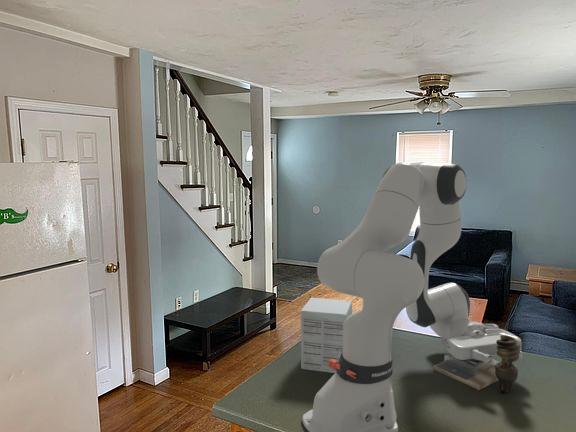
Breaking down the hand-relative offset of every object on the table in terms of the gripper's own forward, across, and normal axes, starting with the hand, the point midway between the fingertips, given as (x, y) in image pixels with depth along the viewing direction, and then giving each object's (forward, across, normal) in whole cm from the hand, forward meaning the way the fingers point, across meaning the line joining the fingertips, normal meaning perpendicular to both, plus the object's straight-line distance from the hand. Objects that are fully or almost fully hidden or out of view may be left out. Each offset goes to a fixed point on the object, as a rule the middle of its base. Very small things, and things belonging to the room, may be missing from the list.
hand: (505, 357), depth 111 cm
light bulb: (+1, 0, +9) cm, 9 cm away
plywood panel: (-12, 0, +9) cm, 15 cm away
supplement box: (-28, -38, +9) cm, 48 cm away
